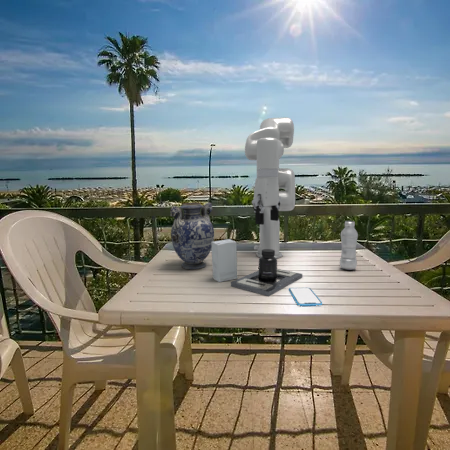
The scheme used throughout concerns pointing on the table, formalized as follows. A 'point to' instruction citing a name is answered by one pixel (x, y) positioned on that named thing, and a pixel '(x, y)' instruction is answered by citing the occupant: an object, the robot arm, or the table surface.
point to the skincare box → (224, 260)
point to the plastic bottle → (348, 246)
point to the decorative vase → (192, 233)
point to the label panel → (266, 288)
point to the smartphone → (305, 297)
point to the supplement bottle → (268, 267)
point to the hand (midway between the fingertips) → (267, 222)
